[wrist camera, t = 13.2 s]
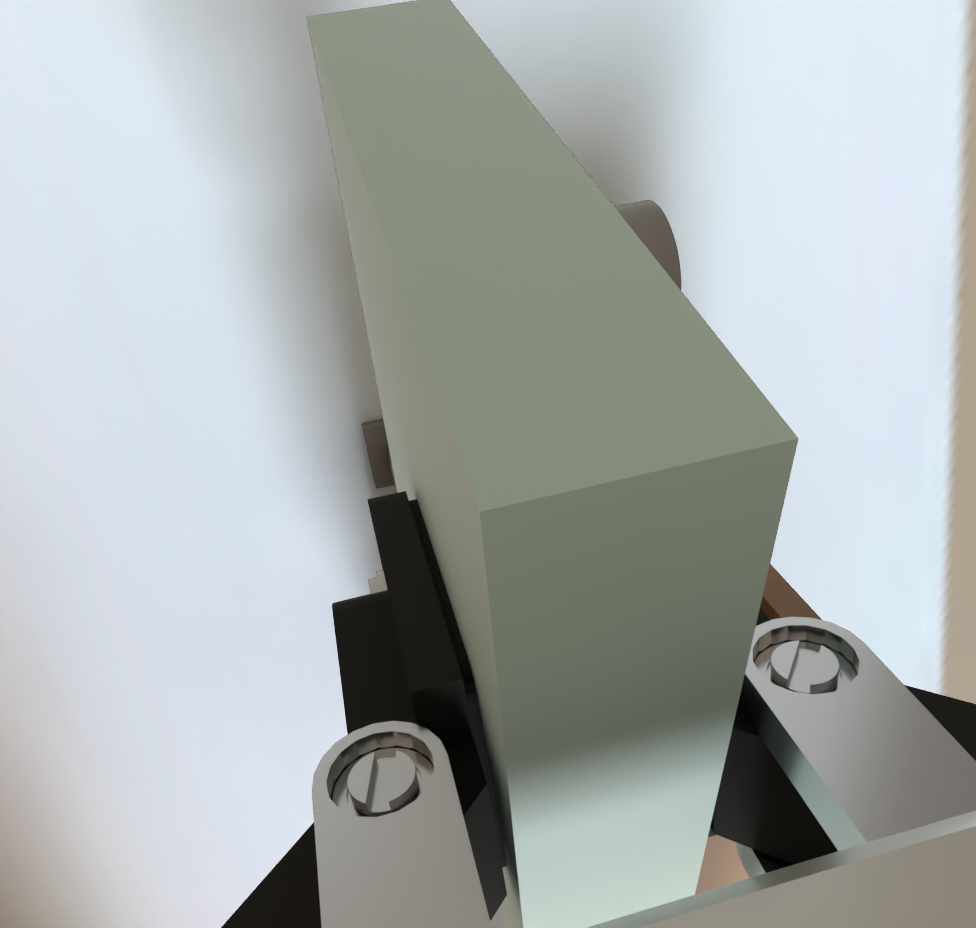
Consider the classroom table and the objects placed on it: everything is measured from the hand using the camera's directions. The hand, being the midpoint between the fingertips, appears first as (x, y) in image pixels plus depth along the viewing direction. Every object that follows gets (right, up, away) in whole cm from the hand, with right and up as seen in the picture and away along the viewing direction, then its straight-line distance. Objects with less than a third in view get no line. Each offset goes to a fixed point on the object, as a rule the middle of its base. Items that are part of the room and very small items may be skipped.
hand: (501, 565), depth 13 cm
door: (-1, +2, +5) cm, 6 cm away
